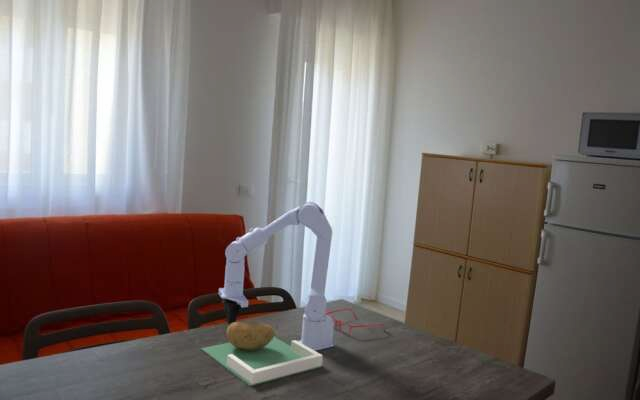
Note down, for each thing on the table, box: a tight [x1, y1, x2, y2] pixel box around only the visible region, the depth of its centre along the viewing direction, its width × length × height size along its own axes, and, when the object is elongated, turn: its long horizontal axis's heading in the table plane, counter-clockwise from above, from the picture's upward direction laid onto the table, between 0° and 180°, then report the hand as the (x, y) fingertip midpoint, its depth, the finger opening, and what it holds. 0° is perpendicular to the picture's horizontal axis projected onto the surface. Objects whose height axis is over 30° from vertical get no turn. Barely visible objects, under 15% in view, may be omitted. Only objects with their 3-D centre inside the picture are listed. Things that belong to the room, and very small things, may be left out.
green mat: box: [200, 336, 324, 387], centre depth 151 cm, size 24×26×1 cm
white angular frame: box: [227, 339, 324, 384], centre depth 146 cm, size 23×13×3 cm, turn 130°
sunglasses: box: [325, 308, 386, 336], centre depth 182 cm, size 17×16×5 cm
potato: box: [225, 321, 276, 351], centre depth 155 cm, size 10×14×8 cm
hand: (231, 323), depth 164 cm, fingers closed
